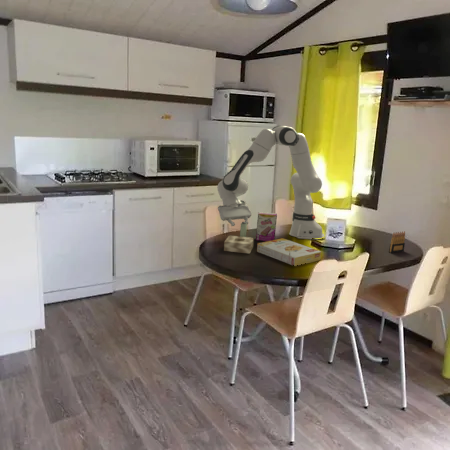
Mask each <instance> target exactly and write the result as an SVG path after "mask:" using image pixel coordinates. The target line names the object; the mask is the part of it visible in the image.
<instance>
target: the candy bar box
mask: <svg viewBox="0 0 450 450" xmlns="http://www.w3.org/2000/svg"><path fill="white" fill-rule="evenodd" d="M277 218H278V214H277V213H275V212H274V213H273V212H265V211H264V212H263V211H258V212H257V223H256V231H255V232H256V234H255V241H260V242H267V241H272V240H276V231H277V230H276V229H277Z"/></svg>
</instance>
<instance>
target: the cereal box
mask: <svg viewBox="0 0 450 450" xmlns="http://www.w3.org/2000/svg"><path fill="white" fill-rule="evenodd" d="M256 245H257V247H256V252H257V253H259V254H262V255H265V256H267V257H270V258H273V259H276V260H277V261H280V262H283V263H286V264H288V265H291V266H293V265H294V267H298V266H302V265H305V263H306V264H309V263H314V262H317V261H321V260H322V250H318V249H315V248H313V247H309V246H306V245H304V244H300V243H298V242H295V241H292V240H290V239H286V238H284V237H283V238H282V237H280V238H275V240H272V241H261V242H257V244H256ZM301 264H302V265H301ZM297 265H298V266H297Z"/></svg>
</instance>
